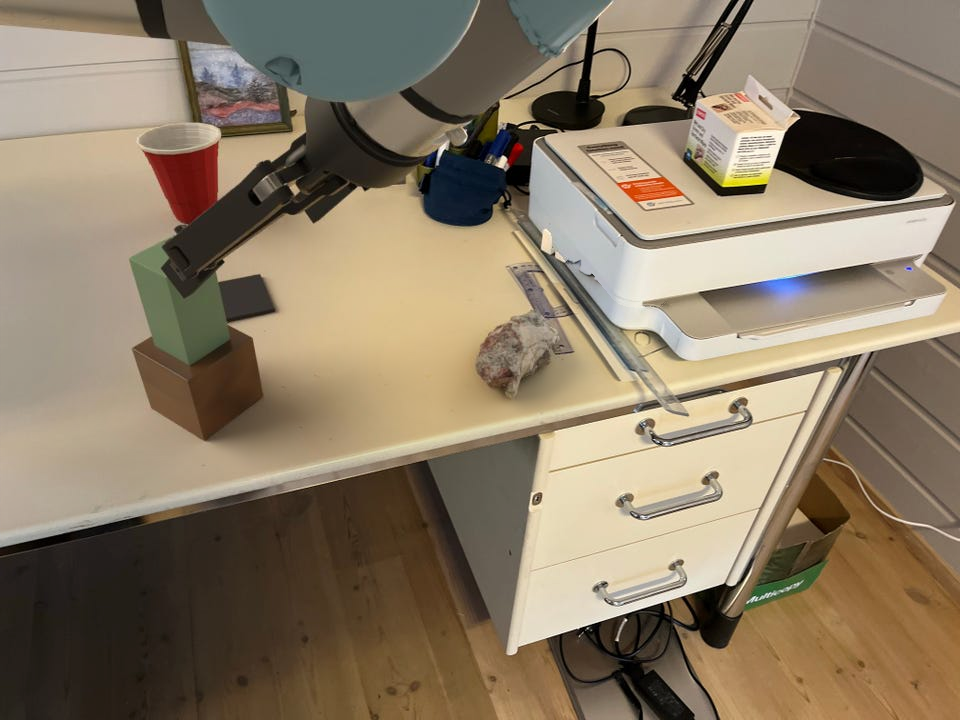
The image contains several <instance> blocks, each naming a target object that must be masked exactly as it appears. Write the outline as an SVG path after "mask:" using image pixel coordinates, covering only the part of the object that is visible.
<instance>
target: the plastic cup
mask: <svg viewBox="0 0 960 720" xmlns="http://www.w3.org/2000/svg"><path fill="white" fill-rule="evenodd" d="M221 138H222V132H221V128H219V127H217V126H215V125H213V124H209V123H202V122H178V123H169V124H165V125H160V126H157V127H153V128H150V129H148V130H145V131H143V132H142V133H140V135H138V136H137V137H136V138H135V144H136V146H137V148H139V149H140V150H141V151H142V153H143V154H144V157H145V158H146V159H147V162H148V164H149V165H150V166H151V168H152V171H153V173H154V175H155V178H156V180H157V182H158V184H159V186H160V189H161V190H162V193H163V195H164V198H165V200H167V202H168V205H169V207H170V210H171V211H172V214H173V216H174V217H175V219H176V220H177V221H178V222H180V223H183V224H186V225H189V224H190V223H191V222H192V221H194V220H195V219H196V218H197V217H199V216H200V215H201V214H202V213H203V212H205V211H206V210H207V209H208V208H210V207H211V206H212V205H213V204H215V203H216V202H217V201H218V200H219V199H218V194H219V164H218V163H219V162H218V160H219V148H220V147H219V143H220V140H221Z"/></svg>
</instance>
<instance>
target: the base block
mask: <svg viewBox="0 0 960 720" xmlns="http://www.w3.org/2000/svg"><path fill="white" fill-rule="evenodd" d="M227 326H228V330H229V335H230V340H229V341H227V342H226V343H224V344H222V345H221V346H219V347H218V348H216V349H215V350H213V351H212V352H210V353H209V354H207V355H206V356H204V357H203V358H201V359H200V360H198V361H197V362H195V363H194V364H192V365H190V366H189V365H187V364H186V363H184V362H182V361H180V360H179V359H177V358H175V357H173V356H172V355H170V354H168V353H166V352H165V351H163V350H161V349H159V348H158V347H156V346H155V345H154V342H153V338H152V335H151V336H149V337H148V338H146V339H144V340H143V341H140V343H138V344H136V345H135V346H133V347H131V351H132V354H133V357H134V361H135V363H136V366H137V369H138V372H139V376H140V378H141V381H142V382H141V383H142V385H143V388H144V391H145V394H146V397H147V400H148V403H149V406H150V408H151V410H154V411H155V412H157V413H158V414H160V415H161V416H163V417H165V418H167V419H168V420H169V421H171V422H173V423H175V424H176V425H178V426H179V427H181V428H183V429H184V430H186V431H188V432H189V433H190V434H192V435H194V436H196V437H197V438H199V439H200V440H202V441H204V442H206V440H208V439H209V438H210V437H212V436H213V435H214V434H216V433H217V432H219V431H220V430H221V429H223V428H224V427H225V426H226V425H228V424H229V423H230V422H232V421H233V420H234V419H236V418H238V416H240V415H241V414H242V413H243V412H245V411H246V410H248V409H249V408H250V407H252V406H253V405H255V404H256V403H257V402H258V401H260V400H261V399H262V398H264V391H263V386H262V381H261V374H260V370H259V364H258V357H257V353H256V349H255V348H256V347H255V342H254V338H253V337H252V336H250V335H248V334H246V333H245V332H243V331H241V330H239V329H238V328H235V327H233V326H231V325H229V324H227Z"/></svg>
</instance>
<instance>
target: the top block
mask: <svg viewBox="0 0 960 720" xmlns="http://www.w3.org/2000/svg"><path fill="white" fill-rule="evenodd" d="M175 235H176V234H174V235H171V236H170V237H167V238H166V239H164V240H162V241H160V242H158V243H156V244H153V245H152V246H150V247H148V248H146V249H144V250H142V251H140V252H138V253H136V254H134V255H132V256H130V257H128V262H129V264H130V268H131V271H132V275H133V277H134V281H135V285H136V288H137V291H138V294H139V299H140V302H141V304H142V308H143V312H144V315H145V319H146V321H147V325H148V329H149V331H150V335H151V336H152V338H153V342H154V345H155V346H156V347H158V348H159V349H161V350H163V351H165V352H166V353H168V354H170V355H172V356H173V357H175V358H177V359H179V360H180V361H182V362H184V363H186V364H187V365H189V366H190V365H192V364H194V363H195V362H197V361H198V360H200V359H201V358H203V357H204V356H206V355H207V354H209V353H210V352H212V351H213V350H215V349H216V348H218V347H219V346H221V345H222V344H224V343H226V342H227V341H229V340H230V335H229V330H228V326H227V325H228V322H227V321H226V316H225V312H224V307H223V302H222V298H221V293H220V288H219V284H218V282H219V280H218V275H217V271H216V272H214V273H213V274H212V275H211V276H210V277H209V278H208V279H207V280H206V281H205V282H204V283H203V284H202V285H201V286H200V287H199V288H198V289H197V290H196V291H195V292H194V293H193V294H192V295H190V296H188V297H186V298H185V299H184V298H183V297H182V296H181V294H180V293H179V292H178V291H177V289H176V288H175V287H174V285H173V284H172V283H171V281H170V280H169V279H168V277H167V276H166V275H165V273H164V272H163V271H162V270H161V267H162V266H163V265H164V264H165V262H166V261H167V260H168V259H169V257H168V256H167V254H166V253H165V252H164V250H163V249H162V248H161V247H162V245H164V244H165V242H166V241H167V240H169V239H171V238H173V237H174V236H175Z"/></svg>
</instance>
